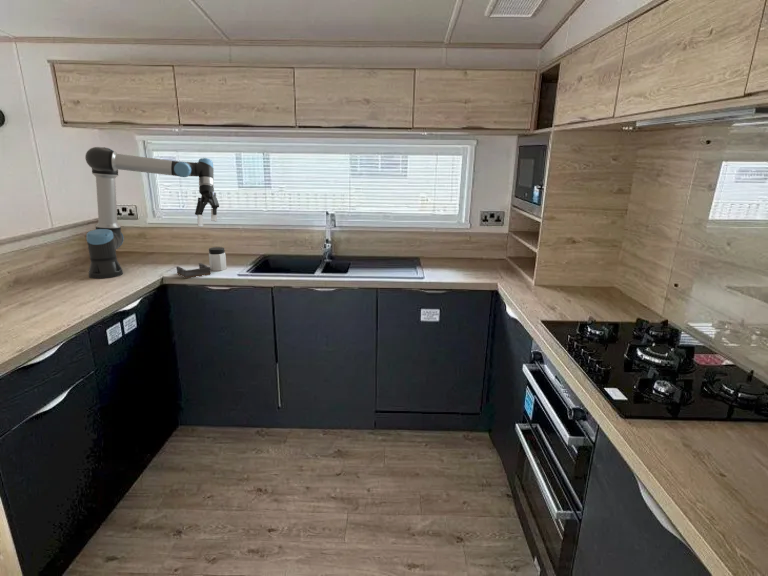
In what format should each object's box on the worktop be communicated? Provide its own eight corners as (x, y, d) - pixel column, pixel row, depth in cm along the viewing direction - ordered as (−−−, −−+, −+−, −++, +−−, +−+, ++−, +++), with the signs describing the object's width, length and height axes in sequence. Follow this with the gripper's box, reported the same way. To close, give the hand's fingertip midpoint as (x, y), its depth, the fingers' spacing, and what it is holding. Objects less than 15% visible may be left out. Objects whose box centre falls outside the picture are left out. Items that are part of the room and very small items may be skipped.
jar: (228, 269, 242) (226, 248, 239) (213, 271, 238) (211, 250, 234) (222, 266, 249) (221, 246, 246) (208, 268, 244) (206, 247, 241)
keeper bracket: (177, 273, 232) (176, 266, 231) (201, 270, 241) (200, 263, 240) (186, 278, 223) (185, 271, 222) (210, 274, 232) (210, 267, 231)
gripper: (225, 182, 233) (226, 219, 231) (200, 194, 248) (201, 229, 245) (212, 178, 227) (213, 217, 225) (188, 191, 242) (188, 227, 240)
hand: (207, 223), depth 235 cm, fingers open, 13 cm apart
